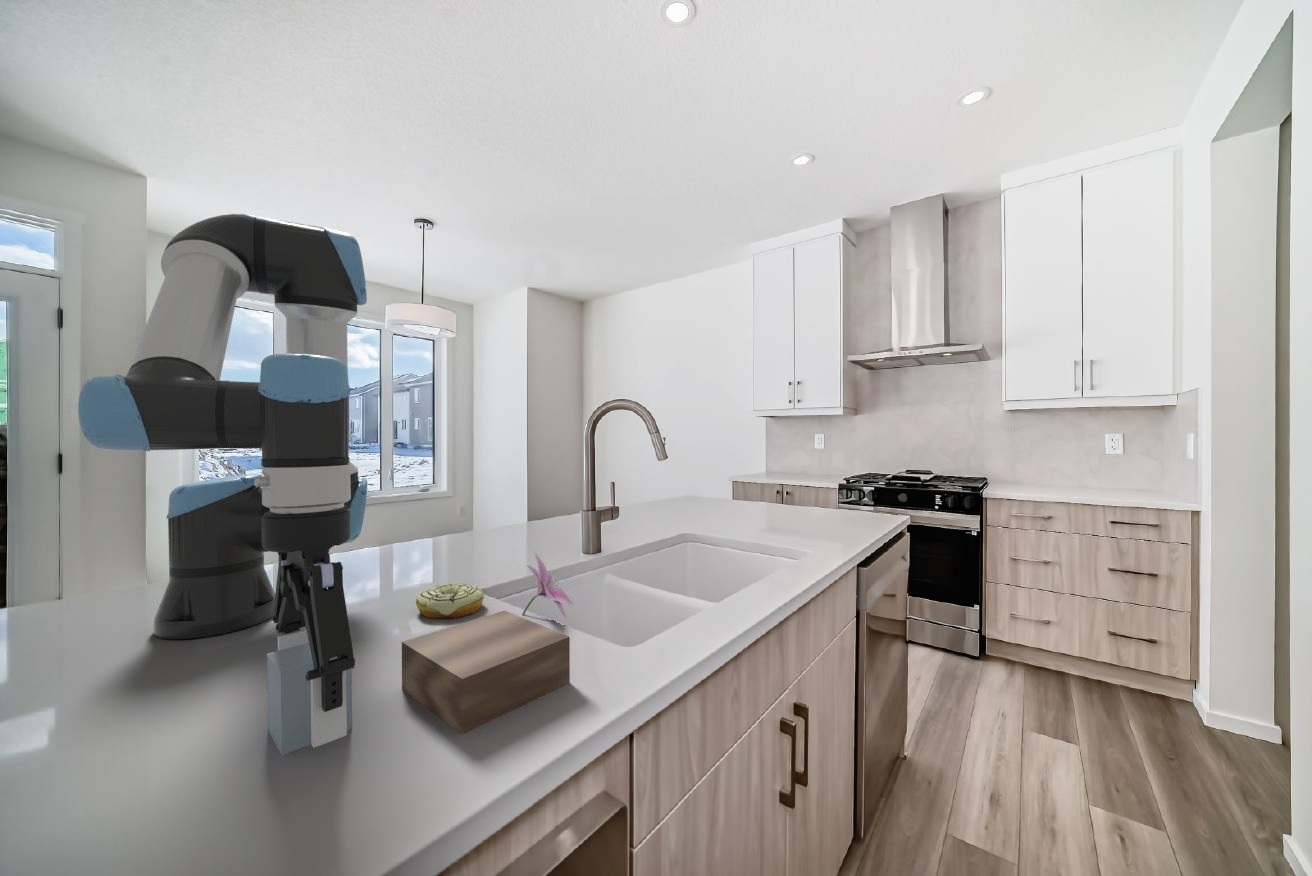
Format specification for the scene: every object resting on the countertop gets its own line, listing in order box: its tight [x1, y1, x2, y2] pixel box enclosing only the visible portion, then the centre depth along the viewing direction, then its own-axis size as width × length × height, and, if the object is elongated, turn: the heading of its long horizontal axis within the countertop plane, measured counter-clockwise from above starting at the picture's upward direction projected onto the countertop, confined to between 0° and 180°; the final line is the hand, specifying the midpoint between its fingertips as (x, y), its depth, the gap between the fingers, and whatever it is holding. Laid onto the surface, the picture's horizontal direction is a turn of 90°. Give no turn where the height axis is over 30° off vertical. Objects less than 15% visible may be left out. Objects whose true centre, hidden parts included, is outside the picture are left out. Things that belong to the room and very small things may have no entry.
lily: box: [521, 550, 574, 620], centre depth 86 cm, size 12×12×10 cm
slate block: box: [266, 642, 353, 756], centre depth 53 cm, size 6×6×8 cm
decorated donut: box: [415, 582, 485, 619], centre depth 88 cm, size 10×11×4 cm
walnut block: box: [401, 610, 571, 735], centre depth 62 cm, size 14×14×6 cm
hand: (309, 713), depth 53 cm, fingers open, 13 cm apart
